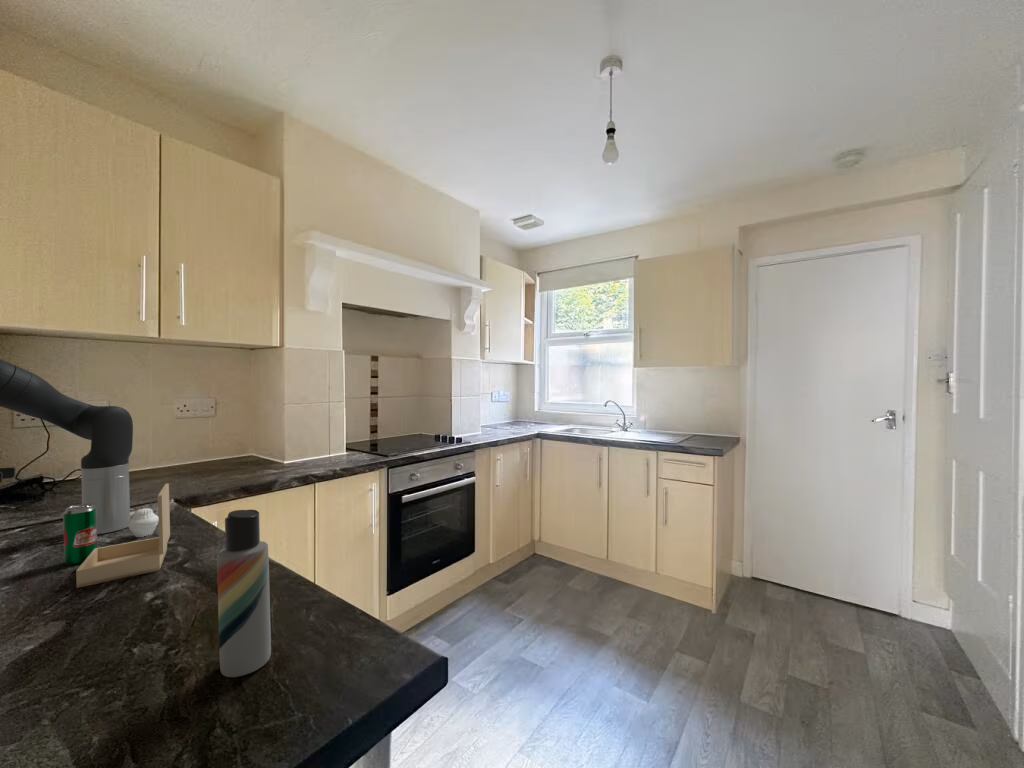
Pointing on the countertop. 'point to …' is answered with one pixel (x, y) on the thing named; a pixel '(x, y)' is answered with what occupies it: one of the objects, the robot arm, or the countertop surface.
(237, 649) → the lotion bottle
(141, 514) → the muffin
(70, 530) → the soda can
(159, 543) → the mailer box
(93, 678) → the countertop surface
